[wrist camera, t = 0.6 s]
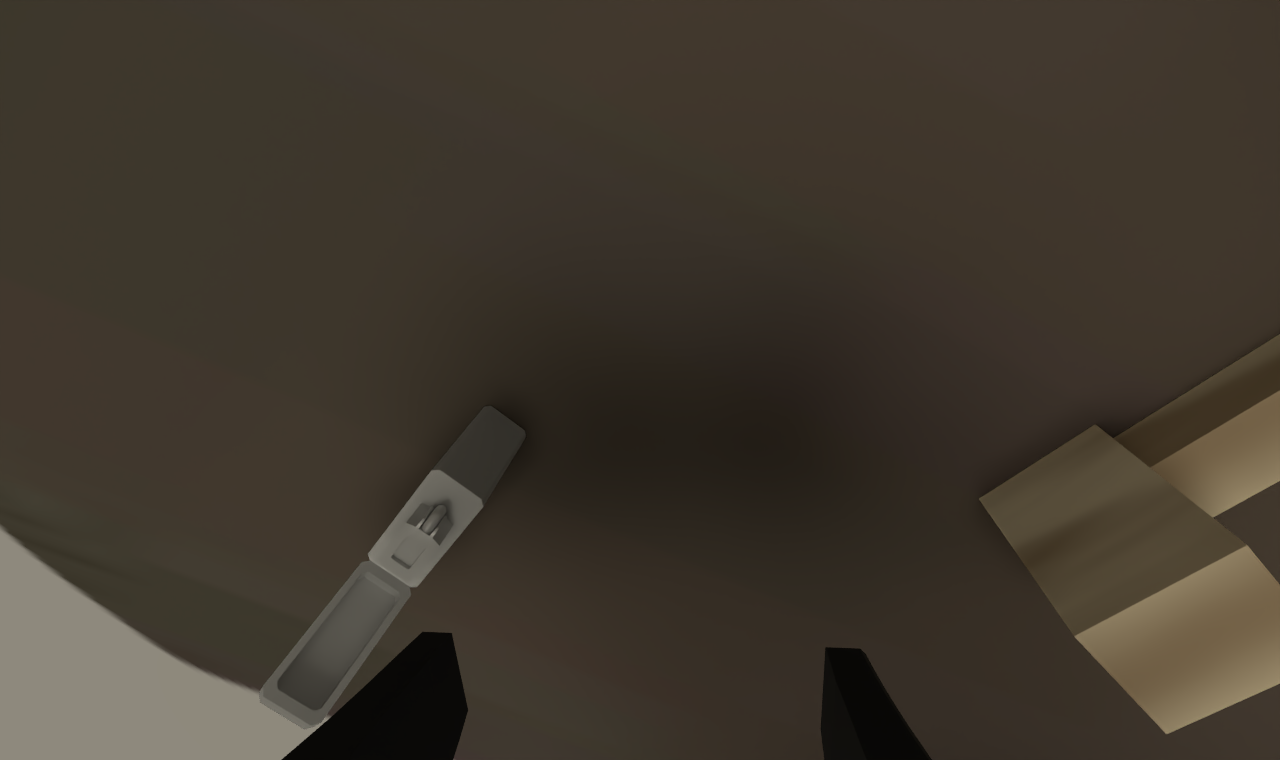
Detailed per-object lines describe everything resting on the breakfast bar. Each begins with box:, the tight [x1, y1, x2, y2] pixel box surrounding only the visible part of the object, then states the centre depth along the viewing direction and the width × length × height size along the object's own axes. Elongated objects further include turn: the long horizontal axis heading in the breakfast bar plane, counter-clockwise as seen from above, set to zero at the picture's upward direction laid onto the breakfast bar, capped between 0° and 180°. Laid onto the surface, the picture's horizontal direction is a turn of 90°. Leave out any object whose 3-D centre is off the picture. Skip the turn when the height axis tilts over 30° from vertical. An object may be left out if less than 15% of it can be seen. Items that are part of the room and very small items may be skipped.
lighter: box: [259, 406, 526, 729], centre depth 19 cm, size 7×2×8 cm, turn 142°
